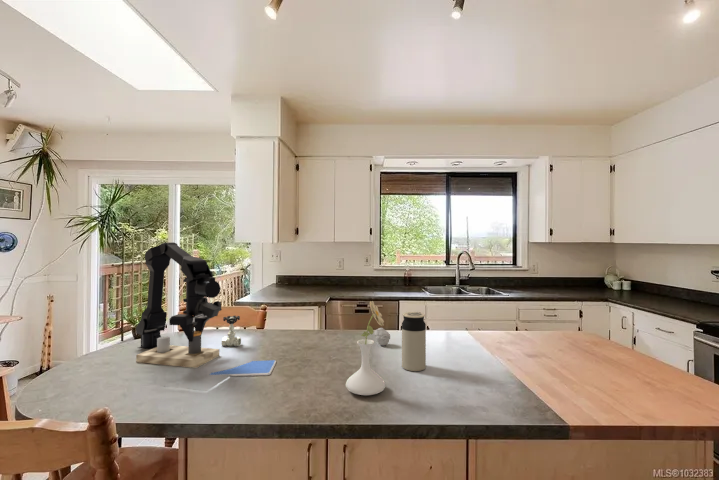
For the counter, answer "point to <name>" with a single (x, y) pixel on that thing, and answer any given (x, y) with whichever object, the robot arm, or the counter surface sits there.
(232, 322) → the valve
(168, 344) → the grey plug
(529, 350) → the counter surface
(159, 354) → the wooden socket board
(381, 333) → the crumpled paper ball
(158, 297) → the robot arm
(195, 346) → the capped plug
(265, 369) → the tablet computer
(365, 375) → the flower in vase
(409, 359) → the travel mug
